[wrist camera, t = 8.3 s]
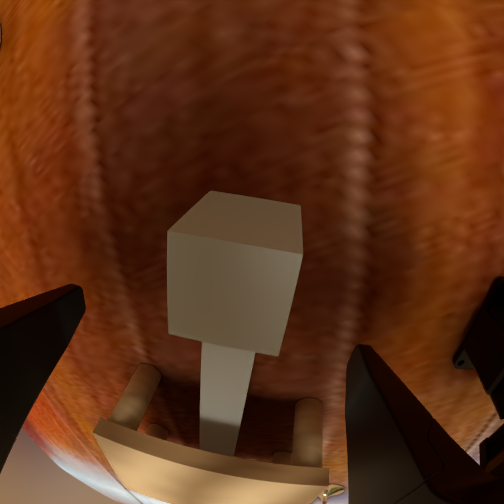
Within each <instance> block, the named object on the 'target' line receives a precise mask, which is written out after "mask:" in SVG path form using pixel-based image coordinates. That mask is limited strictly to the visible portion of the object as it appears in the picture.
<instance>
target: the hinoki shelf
mask: <svg viewBox="0 0 504 504" xmlns="http://www.w3.org/2000/svg"><path fill="white" fill-rule="evenodd" d="M160 380H161V374H160V372H159V371H158V370H157V369H156V368H155V367H153V366H151V365H149V364H140V365H139V366H138V367H137V369H136V371H135V373H134V374H133V376H132V378H131V380H130V381H129V383H128V385H127V387H126V388H125V390H124V392H123V394H122V396H121V397H120V399H119V401H118V403H117V405H116V406H115V408H114V410H113V412H112V414H111V416H110V417H109V419H108V420H106V419H103V418H100V420H99V422H98V424H97V426H96V427H95V429H94V431H93V434H94V436H95V438H96V440H97V442H98V444H99V446H100V447H101V449H102V451H103V453H104V454H105V456H106V458H107V460H108V461H109V463H110V465H111V466H112V468H113V470H114V471H115V473H116V474H117V476H118V477H119V479H120V481H121V482H122V484H123V485H124V487H125V488H126V489H129V490H132V491H134V492H137V493H140V494H143V495H145V496H148V497H151V498H154V499H158V500H161V501H164V502H167V503H171V504H310V503H312V502H313V501H314V500H315V499H316V498H317V497H318V496H319V495H320V494H321V493H322V492H323V491H324V490H325V489H326V488H327V487H328V486H329V468H322V457H323V443H322V403H321V402H320V401H319V400H317V399H314V398H304V399H301V400H299V401H298V402H297V403H296V404H295V418H294V434H293V449H292V453H290V452H286V451H280V452H276V453H274V454H273V461H272V463H266V462H259V461H253V460H247V459H241V458H236V457H230V456H225V455H220V454H216V453H211V452H207V451H203V450H198V449H194V448H191V447H187V446H183V445H179V444H176V443H172V442H169V441H166V438H167V436H168V430H167V429H166V428H164V427H163V426H161V425H158V424H150V425H149V427H148V429H147V432H146V434H143V433H140V432H137V429H138V427H139V424H140V422H141V420H142V418H143V416H144V414H145V412H146V409H147V407H148V405H149V403H150V401H151V399H152V397H153V395H154V392H155V390H156V388H157V386H158V384H159V382H160Z"/></svg>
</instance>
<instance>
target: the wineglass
mask: <svg viewBox="0 0 504 504" xmlns="http://www.w3.org/2000/svg"><path fill="white" fill-rule="evenodd" d="M344 490H345V488H344V487H343V486H341V485H336V484H329V486H328V487H327V488H326V489H325V490H324V491H323V492H322V493H321V494H320V495H319V496H318V497H319V498H320V499H321V501H322V504H326V503H327V500H328V498H329V497H330V496H335V495H338V494H340V493H342V492H343V491H344Z"/></svg>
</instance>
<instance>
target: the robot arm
mask: <svg viewBox="0 0 504 504" xmlns="http://www.w3.org/2000/svg"><path fill="white" fill-rule="evenodd" d="M85 309H86V305H85V300H84V294H83V289H82V288H81V287H80V286H78V285H75V284H68V285H65V286H62V287H60V288H57V289H54V290H51V291H48V292H45V293H42V294H39V295H36V296H33V297H31V298H28V299H25V300H22V301H19V302H16V303H14V304H11V305H8V306H5V307H2V308H0V473H1V471H2V468H3V466H4V464H5V462H6V459H7V457H8V455H9V453H10V451H11V449H12V446H13V444H14V442H15V440H16V437H17V436H18V434H19V432H20V430H21V428H22V426H23V424H24V422H25V420H26V418H27V416H28V414H29V412H30V410H31V408H32V407H33V405H34V403H35V401H36V399H37V397H38V396H39V394H40V392H41V390H42V388H43V387H44V385H45V383H46V381H47V380H48V378H49V376H50V375H51V373H52V371H53V370H54V368H55V366H56V364H57V363H58V361H59V360H60V358H61V356H62V355H63V353H64V351H65V350H66V348H67V346H68V344H69V342H70V341H71V339H72V337H73V334H74V332H75V330H76V329H77V327H78V325H79V323H80V321H81V319H82V317H83V315H84V313H85ZM453 364H454V367H455V368H458V369H475V371H476V373H477V375H478V377H479V379H480V381H481V383H482V385H483V388H484V390H485V392H486V394H487V395H490V397H491V399H492V402H493V404H494V406H495V408H496V411H497V413H498V415H499V418H500V419H504V277H500V278H498V279H497V280H496V281H495V283H494V284H493V287H492V289H491V291H490V293H489V295H488V297H487V299H486V301H485V303H484V305H483V307H482V309H481V311H480V313H479V315H478V317H477V319H476V321H475V323H474V324H473V326H472V328H471V330H470V332H469V333H468V335H467V337H466V339H465V340H464V342H463V344H462V345H461V347H460V349H459V350H458V352H457V354H456V355H455V357H454V359H453ZM432 418H433V417H432V415H431V414H430V413H429V412H428V411H427V409H426V408H425V407H424V406H423V405H422V404H421V403H420V401H419V400H418V399H417V398H416V397H415V396H414V395H413V393H412V392H411V391H410V390H409V389H408V388H407V387H406V385H405V384H404V383H403V382H402V381H401V380H400V379H399V377H398V376H397V375H396V374H395V373H394V372H393V371H392V370H391V368H390V367H389V366H388V365H387V364H386V363H385V362H384V361H383V359H382V358H381V357H380V356H379V355H378V354H377V353H376V352H375V350H374V349H373V348H372V347H371V346H369V345H364V344H358V345H356V347H355V348H354V351H353V353H352V355H351V357H350V359H349V362H348V364H347V372H346V400H345V419H346V435H347V455H348V488H349V504H504V424H502V425H501V426H500V427H499V428H498V429H497V430H496V431H495V432H494V433H493V434H492V435H491V436H490V437H489V438H486V439H485V440H483V441H482V442H481V443H480V445H479V449H480V465H479V464H478V463H477V462H476V461H474V460H473V459H472V458H471V457H470V456H469V455H468V454H467V453H466V452H465V451H464V450H463V449H462V448H461V447H460V446H459V445H458V444H457V443H456V442H455V441H454V440H453V439H452V438H451V437H450V436H449V435H448V433H447V432H446V431H445V430H444V429H443V428H442V427H441V426H440V424H439V423H438V422H437V421H436V420H435V419H434V418H433V419H432Z"/></svg>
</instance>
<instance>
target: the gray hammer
mask: <svg viewBox="0 0 504 504" xmlns="http://www.w3.org/2000/svg"><path fill="white" fill-rule="evenodd" d="M302 258H303V237H302V218H301V205H296V204H290V203H285V202H279V201H273V200H267V199H261V198H255V197H249V196H243V195H236V194H230V193H223V192H216V191H209V192H208V193H207V194H206V195H205V196H204V197H203V198H202V199H201V200H200V201H198V202H197V203H196V204H195V205H194V206H193V207H192V208H191V209H190V210H189V211H188V212H187V213H186V214H184V215H183V216H182V217H181V218H180V219H179V220H178V221H177V222H176V223H175V224H174V225H173V226H172V227H171V228H170V229H169V230H168V231H167V305H168V334H172V335H176V336H180V337H184V338H189V339H193V340H197V341H202V354H201V385H200V450H203V451H207V452H211V453H216V454H220V455H225V456H230V457H234V452H235V448H236V443H237V438H238V434H239V429H240V424H241V420H242V415H243V410H244V406H245V401H246V396H247V391H248V386H249V381H250V376H251V371H252V367H253V362H254V357H255V352H256V353H262V354H267V355H273V356H278V355H279V352H280V348H281V344H282V340H283V336H284V333H285V329H286V325H287V321H288V317H289V313H290V309H291V305H292V301H293V296H294V292H295V288H296V284H297V280H298V275H299V271H300V267H301V262H302Z"/></svg>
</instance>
